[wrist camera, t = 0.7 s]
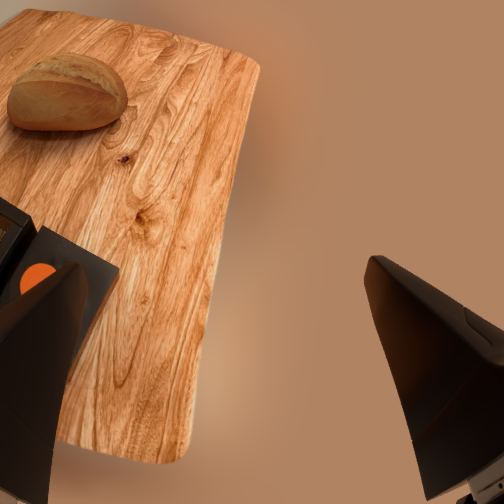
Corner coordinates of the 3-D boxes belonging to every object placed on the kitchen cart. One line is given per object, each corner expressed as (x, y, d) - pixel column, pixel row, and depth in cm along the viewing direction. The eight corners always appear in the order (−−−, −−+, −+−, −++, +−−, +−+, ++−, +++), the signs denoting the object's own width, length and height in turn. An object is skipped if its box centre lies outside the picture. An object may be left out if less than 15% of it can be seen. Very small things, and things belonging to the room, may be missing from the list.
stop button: (52, 321, 19) (47, 316, 17) (19, 300, 18) (12, 293, 17) (72, 284, 21) (68, 276, 19) (39, 264, 20) (34, 255, 19)
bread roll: (120, 150, 31) (128, 92, 24) (-3, 149, 25) (-17, 95, 18) (129, 95, 34) (139, 43, 28) (22, 94, 28) (17, 43, 22)
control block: (70, 381, 21) (60, 379, 17) (-6, 331, 19) (-25, 321, 16) (119, 277, 26) (119, 259, 22) (47, 236, 24) (38, 213, 21)
